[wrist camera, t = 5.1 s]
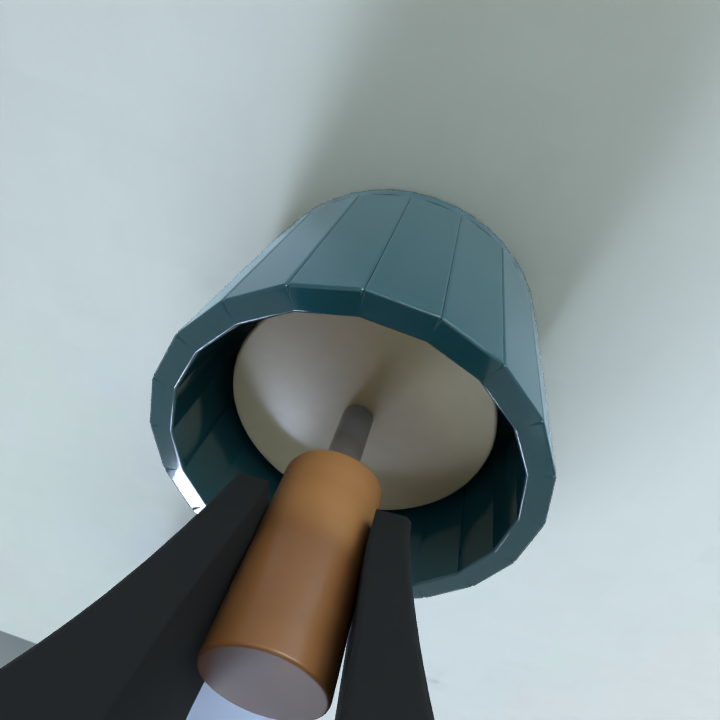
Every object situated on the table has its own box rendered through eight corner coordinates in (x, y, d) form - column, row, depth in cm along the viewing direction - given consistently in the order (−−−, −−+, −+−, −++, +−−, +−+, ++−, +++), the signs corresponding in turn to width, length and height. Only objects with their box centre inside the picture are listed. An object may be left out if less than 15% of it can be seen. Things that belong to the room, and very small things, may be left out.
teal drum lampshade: (364, 466, 21) (316, 625, 15) (207, 288, 18) (78, 406, 12) (587, 373, 17) (633, 549, 11) (427, 119, 14) (379, 182, 8)
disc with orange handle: (356, 479, 18) (257, 797, 11) (221, 328, 16) (-24, 597, 8) (543, 403, 15) (590, 788, 7) (405, 201, 13) (269, 455, 5)
